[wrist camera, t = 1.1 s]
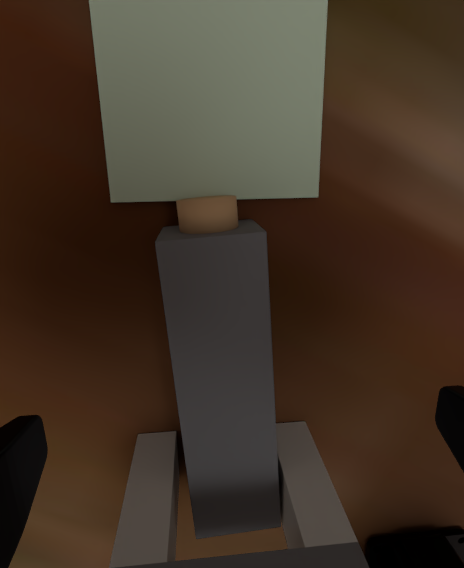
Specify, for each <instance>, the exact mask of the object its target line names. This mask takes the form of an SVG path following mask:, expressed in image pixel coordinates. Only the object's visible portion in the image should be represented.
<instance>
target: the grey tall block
mask: <svg viewBox="0 0 464 568" xmlns="http://www.w3.org/2000/svg"><path fill="white" fill-rule="evenodd" d="M176 204H177V212H178V221H179V225H178V226H167V227H163V228H162V230H161V232H160V234H159V235H158V237H157V239H156V241H155V247H156V254H157V261H158V268H159V275H160V283H161V290H162V297H163V304H164V311H165V319H166V326H167V333H168V340H169V347H170V355H171V362H172V369H173V376H174V383H175V391H176V398H177V405H178V412H179V419H180V427H181V434H182V441H183V448H184V455H185V463H186V470H187V477H188V484H189V491H190V499H191V506H192V513H193V520H194V527H195V535H196V539H200V538H207V537H214V536H221V535H228V534H234V533H241V532H248V531H255V530H262V529H269V528H276V527H281V518H280V498H279V478H278V458H277V438H276V417H275V397H274V377H273V357H272V336H271V316H270V296H269V276H268V256H267V235H266V231H265V230H264V229H263V228H262V227H260V226H259V225H258V224H257V223H256V222H255V221H253V220H252V219H245V220H238V213H237V199H236V196H233V195H222V196H206V197H196V198H188V199H181V200H177V201H176Z"/></svg>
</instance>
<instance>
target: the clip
mask: <svg viewBox="0 0 464 568" xmlns="http://www.w3.org/2000/svg"><path fill="white" fill-rule="evenodd" d="M276 438H277V458H278V478H279V498H280V518H281V522H282V526H283V530H284V534H285V538H286V542H287V546H288V549H285V550H276V551H266V552H257V553H247V554H238V555H229V556H219V557H210V558H200V559H191V560H181V561H175V555H176V536H177V516H178V496H179V463H178V449H177V435H176V431H171V432H158V433H145V434H138V436H137V441H136V445H135V450H134V455H133V459H132V464H131V468H130V473H129V478H128V482H127V487H126V492H125V496H124V501H123V505H122V510H121V515H120V519H119V524H118V529H117V533H116V538H115V542H114V547H113V552H112V556H111V561H110V566H109V568H369V566H368V563H367V561H366V559H365V557H364V554H363V552H362V550H361V547H360V545H359V543H358V541H357V538H356V536H355V534H354V531H353V529H352V527H351V525H350V522H349V520H348V518H347V516H346V513H345V511H344V509H343V506H342V504H341V502H340V500H339V497H338V495H337V493H336V490H335V488H334V486H333V484H332V481H331V479H330V477H329V475H328V472H327V470H326V468H325V465H324V463H323V461H322V459H321V456H320V454H319V452H318V450H317V447H316V445H315V443H314V440H313V438H312V436H311V434H310V431H309V429H308V427H307V424H306V422H305V421H301V422H288V423H276Z"/></svg>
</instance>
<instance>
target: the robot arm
mask: <svg viewBox="0 0 464 568" xmlns="http://www.w3.org/2000/svg"><path fill="white" fill-rule="evenodd" d="M435 421H436V425H437V427H438V429H439V431H440V433H441V435H442V436H443V438H444V440H445V441H446V443H447V445H448V446H449V448H450V450H451V452H452V453H453V455H454V457H455V458H456V460H457V462H458V463H459V465H460V467H461V469H462V470H463V472H464V387H463V386H458V385H457V386H445V387H443V388H441V389H440V391H439V396H438V402H437V408H436V414H435ZM46 458H47V442H46V437H45V432H44V427H43V422H42V419H41V417H40V416H38V415H28V416H19V417H17V418H15V419H13V420H12V421H10V422H9V423H7V424H5V425H4V426H2V427H0V568H8V567H9V565H10V562H11V560H12V558H13V555H14V553H15V551H16V548H17V546H18V543H19V541H20V538H21V536H22V534H23V531H24V528H25V525H26V522H27V519H28V516H29V513H30V510H31V506H32V503H33V500H34V497H35V494H36V490H37V487H38V484H39V481H40V478H41V474H42V471H43V468H44V465H45V462H46ZM365 559H366V561H367V563H368V566H369V568H464V530H463V529H449V530H440V531H430V532H421V533H411V534H402V535H392V536H383V537H374V538H372V539H370V540H369V541H368V542H367V547H366V556H365Z"/></svg>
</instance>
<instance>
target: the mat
mask: <svg viewBox="0 0 464 568" xmlns="http://www.w3.org/2000/svg"><path fill="white" fill-rule="evenodd" d="M327 5H328V0H89V6H90V15H91V24H92V34H93V43H94V52H95V61H96V70H97V79H98V88H99V98H100V107H101V116H102V125H103V134H104V143H105V153H106V162H107V171H108V180H109V189H110V198H111V202H151V201H177V200H181V199H188V198H196V197H206V196H222V195H233V196H236V199H271V198H311V197H318V191H319V170H320V150H321V129H322V108H323V88H324V67H325V46H326V26H327Z"/></svg>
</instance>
